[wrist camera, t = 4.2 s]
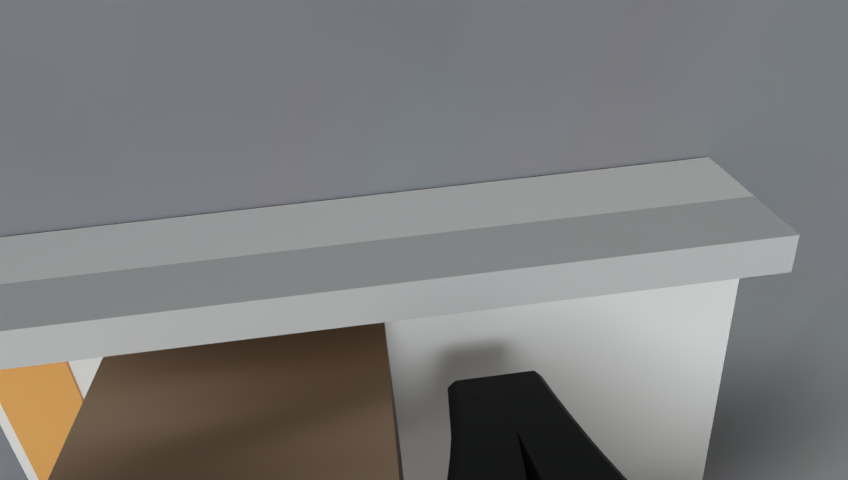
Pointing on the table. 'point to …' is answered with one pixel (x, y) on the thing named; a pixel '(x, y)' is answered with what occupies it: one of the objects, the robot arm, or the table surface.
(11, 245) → the white flat ridged tray
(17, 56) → the table surface
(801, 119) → the table surface
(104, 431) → the brown cardboard box
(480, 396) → the robot arm
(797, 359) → the table surface
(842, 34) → the table surface
